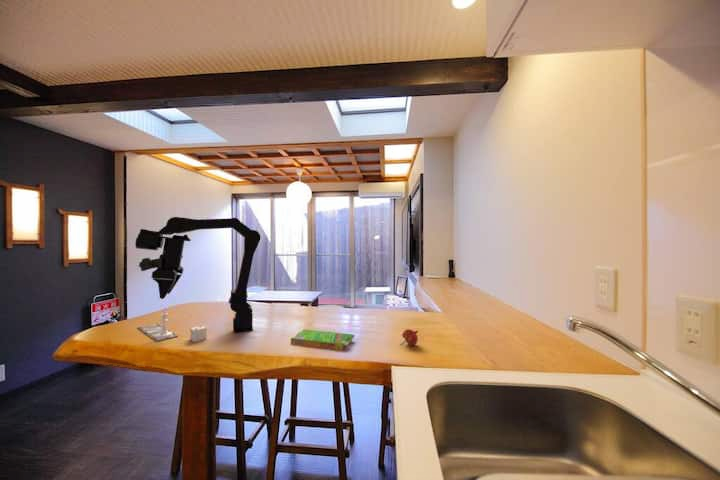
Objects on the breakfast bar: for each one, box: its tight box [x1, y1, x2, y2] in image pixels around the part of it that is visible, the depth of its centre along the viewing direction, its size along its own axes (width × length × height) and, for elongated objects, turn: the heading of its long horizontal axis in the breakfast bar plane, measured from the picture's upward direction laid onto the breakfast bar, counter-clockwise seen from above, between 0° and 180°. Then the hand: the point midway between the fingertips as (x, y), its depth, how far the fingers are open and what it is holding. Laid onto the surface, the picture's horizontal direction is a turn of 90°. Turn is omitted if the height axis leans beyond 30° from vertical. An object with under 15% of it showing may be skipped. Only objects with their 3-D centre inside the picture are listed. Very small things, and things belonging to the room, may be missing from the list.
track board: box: [137, 323, 179, 343], centre depth 100 cm, size 23×6×1 cm, turn 53°
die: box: [189, 325, 208, 343], centre depth 93 cm, size 4×4×4 cm
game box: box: [290, 328, 356, 351], centre depth 92 cm, size 3×10×20 cm
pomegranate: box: [400, 328, 419, 347], centre depth 90 cm, size 6×6×8 cm
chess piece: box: [156, 308, 173, 339], centre depth 95 cm, size 5×5×10 cm
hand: (165, 296), depth 93 cm, fingers open, 9 cm apart
